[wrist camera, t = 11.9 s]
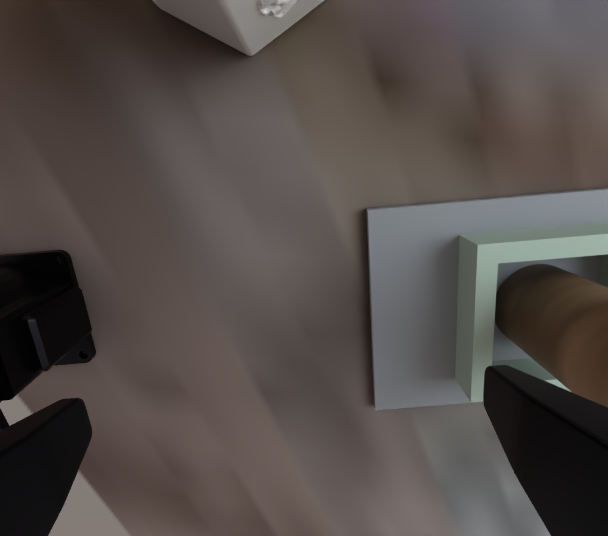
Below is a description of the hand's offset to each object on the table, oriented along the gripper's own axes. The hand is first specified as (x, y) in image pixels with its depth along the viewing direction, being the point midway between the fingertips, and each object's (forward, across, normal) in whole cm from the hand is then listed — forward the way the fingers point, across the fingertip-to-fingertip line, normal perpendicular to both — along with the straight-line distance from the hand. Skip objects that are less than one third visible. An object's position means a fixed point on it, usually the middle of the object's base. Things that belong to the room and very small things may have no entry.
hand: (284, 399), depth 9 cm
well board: (+13, -13, +4) cm, 19 cm away
